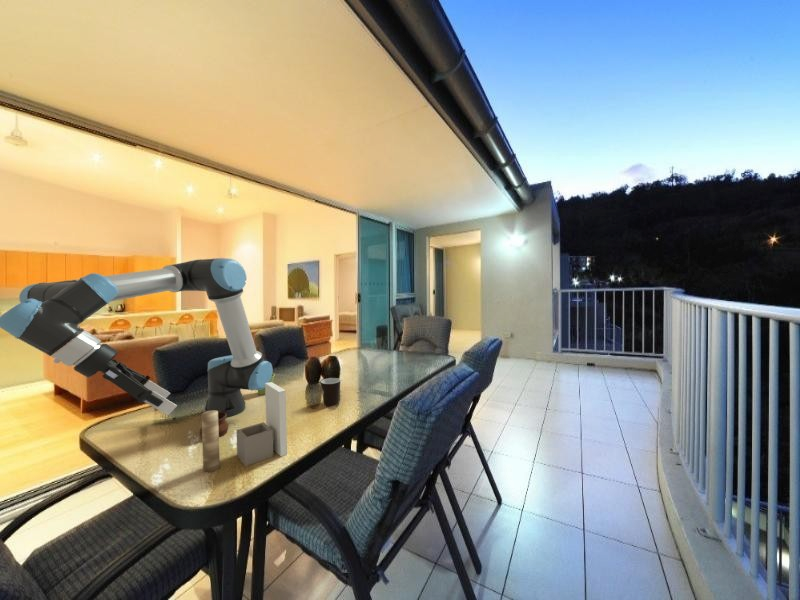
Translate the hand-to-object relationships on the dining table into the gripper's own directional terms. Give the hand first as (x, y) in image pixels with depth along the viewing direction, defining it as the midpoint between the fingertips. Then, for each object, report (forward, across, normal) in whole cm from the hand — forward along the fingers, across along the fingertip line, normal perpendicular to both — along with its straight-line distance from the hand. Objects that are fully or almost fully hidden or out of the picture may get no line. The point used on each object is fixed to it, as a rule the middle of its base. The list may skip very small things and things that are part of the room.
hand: (169, 403), depth 81 cm
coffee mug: (+57, -22, +29) cm, 68 cm away
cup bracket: (+30, +3, +1) cm, 30 cm away
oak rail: (+21, +1, -8) cm, 23 cm away
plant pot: (+44, -55, +17) cm, 73 cm away
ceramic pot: (+25, -23, -4) cm, 35 cm away
